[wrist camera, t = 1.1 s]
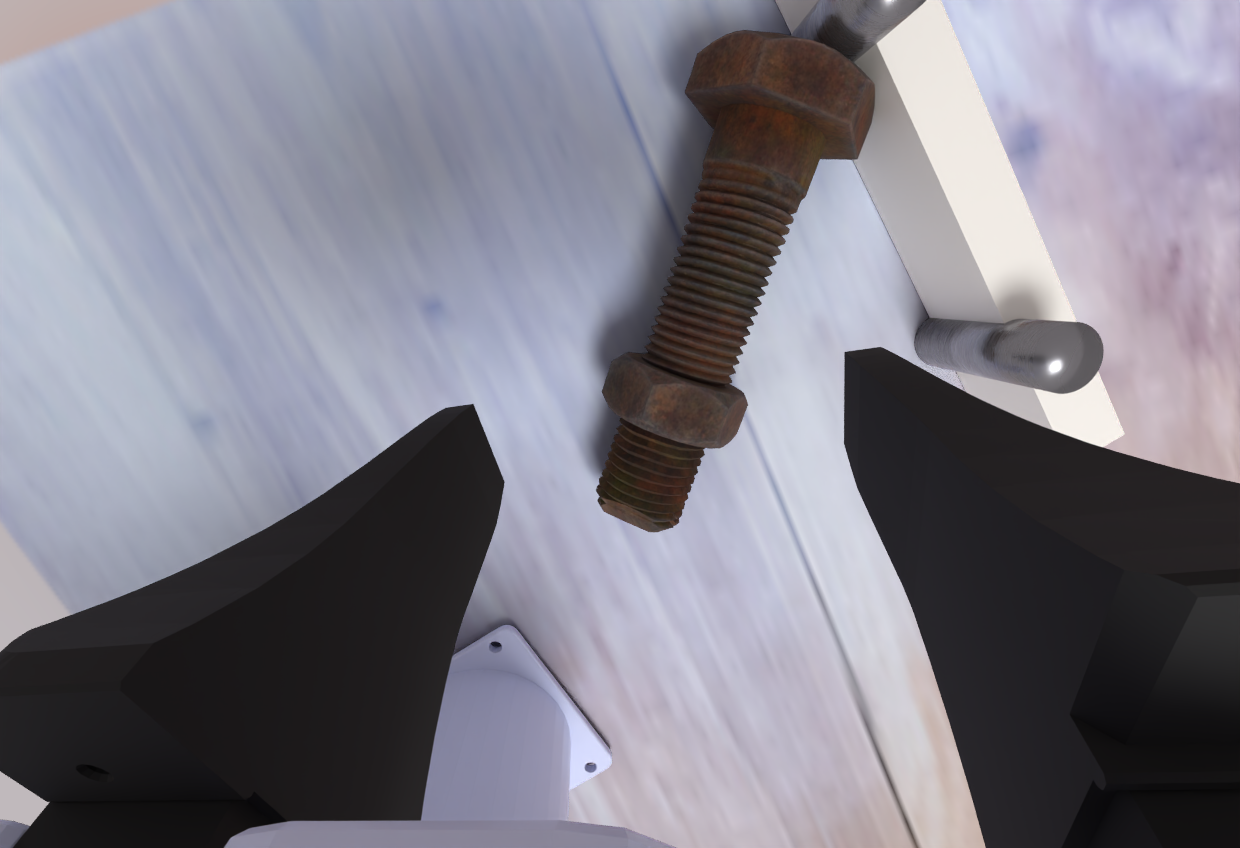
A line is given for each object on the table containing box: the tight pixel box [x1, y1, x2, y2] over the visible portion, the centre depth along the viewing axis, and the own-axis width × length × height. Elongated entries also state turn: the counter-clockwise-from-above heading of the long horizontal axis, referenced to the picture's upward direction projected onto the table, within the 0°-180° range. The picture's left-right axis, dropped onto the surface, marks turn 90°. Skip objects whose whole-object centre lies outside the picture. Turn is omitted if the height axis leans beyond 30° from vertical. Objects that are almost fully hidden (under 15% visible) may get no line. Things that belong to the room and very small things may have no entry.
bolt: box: [596, 30, 875, 532], centre depth 19 cm, size 6×5×15 cm
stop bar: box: [775, 0, 1124, 447], centre depth 18 cm, size 3×20×6 cm, turn 32°
